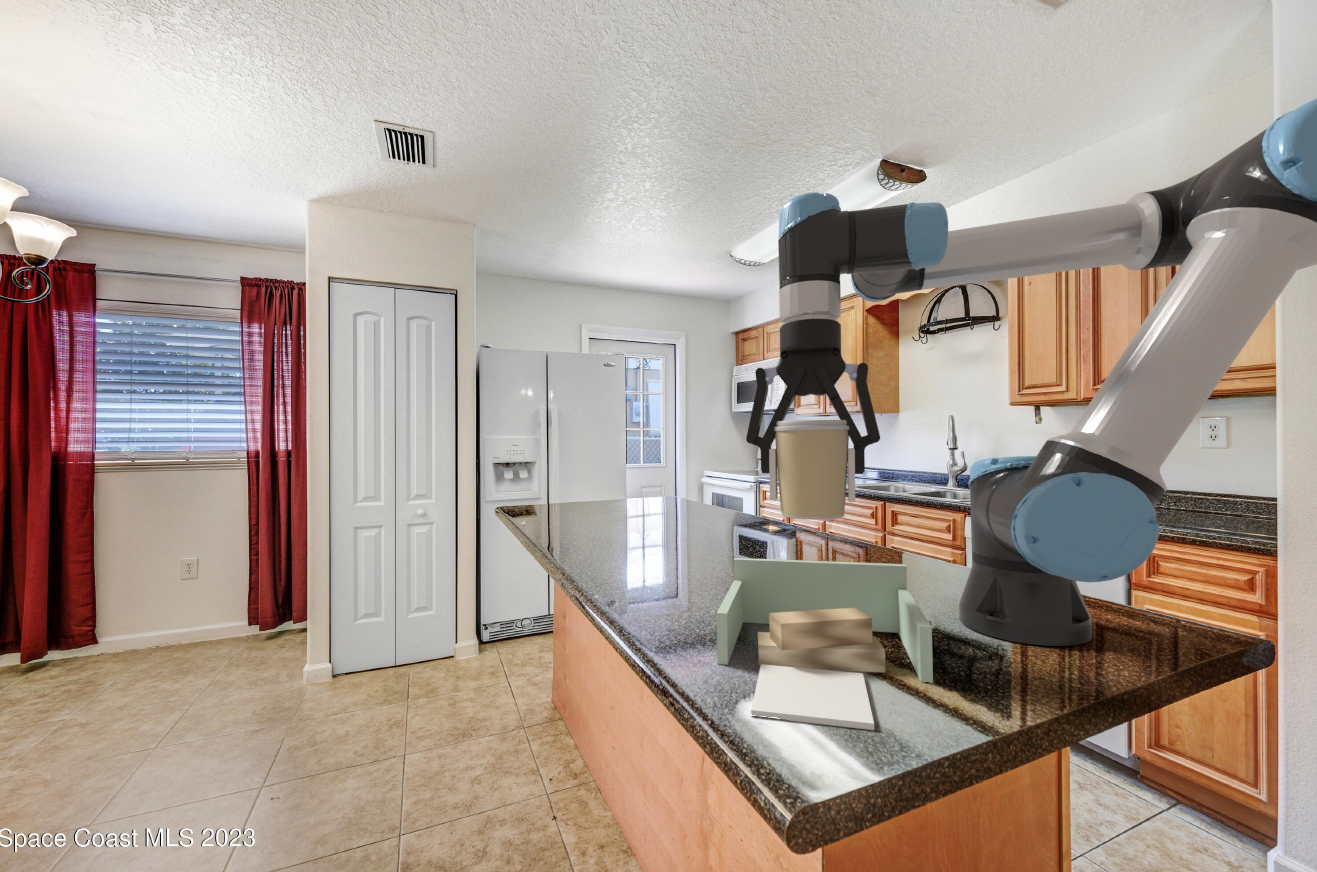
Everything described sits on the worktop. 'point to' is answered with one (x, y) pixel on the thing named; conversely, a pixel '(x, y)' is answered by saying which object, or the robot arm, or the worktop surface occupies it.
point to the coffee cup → (812, 468)
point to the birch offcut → (823, 656)
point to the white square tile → (813, 696)
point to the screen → (825, 600)
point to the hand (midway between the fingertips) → (812, 499)
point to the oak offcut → (820, 628)
